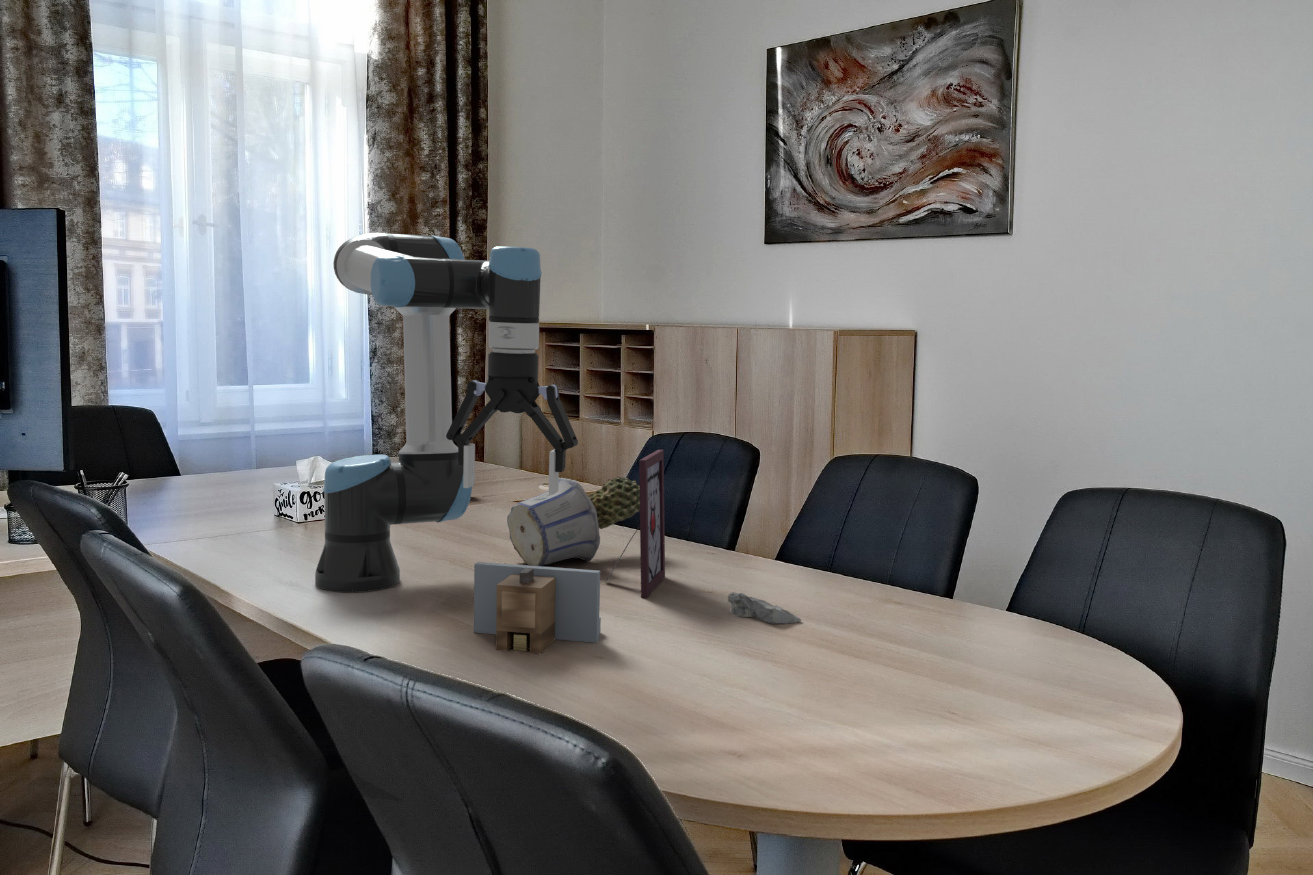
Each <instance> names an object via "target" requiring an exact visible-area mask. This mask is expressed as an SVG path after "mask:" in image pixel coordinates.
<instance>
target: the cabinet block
mask: <svg viewBox="0 0 1313 875" xmlns="http://www.w3.org/2000/svg"><path fill="white" fill-rule="evenodd" d="M533 572H534V569H531V568H525V569H524V570H523V571H521V572H520V575H517V574H512V575H510V576H509V577H507V578H506V579H504V580H503V581H501V582H500V583H498V584H497V594H496V634H495V651H504V652H508V651H509V650H510V649H511V648H512V647H514V634H515V633H516V632H520V633H530V648H529V653H530V654H538V655H541V654H543V652H545V650H547V649H548V647H550V646H551V644H553V643H554V642H555V640H556V639H555V578H556V577H545V576H533Z"/></svg>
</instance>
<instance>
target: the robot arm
mask: <svg viewBox="0 0 1313 875" xmlns="http://www.w3.org/2000/svg"><path fill="white" fill-rule="evenodd" d="M332 266H333V271H334V274H335V277H336V279H337V281H338V282H339V283H340V284H341V285H342V286H343V287H344V288H346V289H348V290H350V291H352V292H354V293H356V294H357V293H358V294H361V295H362V294H363V295H368V296H369V295H370V296H373V300H374V301H375V303H376V304H377V305H380V306H385V307H393V308H394V309H395V310H396V311H397V312H398V313H399V314H401V315H402V322H403V323H402V325H403V328H402V329H403V361H404V362H403V364H404V365H403V366H404V368H403V369H404V397H405V398H404V399H405V400H404V403H405V407H404V408H405V435H406V436H405V437H406V442H405V444H404V446H402V448H400V450H399V451H398V461H396V462H394V461H393V462H392V460H391V458H390V457H389V455H386V454H372V455H370V454H365V455H364V454H363V455H357V456H353V457H347V458H343V459H342V458H341V459H339V460H336V461H334V462H331V463H330V464H329V465H328V466H326V468H325V471H324V480H323V488H322V491H323V494H324V498H323V499H324V505H323V506H324V544H323V548H322V551H321V554H320V556H319V560H318V562H317V563H318V564H317V566H316V569H315V571H314V572H315V574H314V577H315V578H314V581H315V582H314V585H315V586H316V587H317V588H319V589H322V590H326V591H330V592H338V593H339V592H340V593H356V592H357V593H358V592H359V593H362V592H371V591H372V592H373V591H379V590H383V589H384V590H385V589H387V588H391V587H393V586H396V585H397V584H399V583H400V581H401V570H400V567H399V563H398V560H397V557H396V554H395V551H394V549H393V547H392V546H393V545H392V543H391V526H392V525H406V524H407V525H408V524H420V523H423V524H424V523H433V522H434V523H443V522H447V521H454V520H458V519H460V518H462V517H463V515H464V514H465V513H466V511H467V509H468V507H469V505H470V501H471V498H472V491H473V487H474V486H475V474H476V473H475V471H476V470H475V468H476V467H475V464H476V462H475V460H476V454H475V453H476V444H475V443H471V442H472V440H473V438H475V436H476V435H477V433H479V431H480V430H482V428H484V426H485V425H486V423H487V422H488V421H489V420H490V419H491V417H493V415H494V414H495V413H497V411H499V412H500V413H509V412H510V413H514V414H523V413H526V415H527V416H528V417H530V418H531V420H532V421H533V422H534V424H535V425H536V426H537V428H538V429H539V431H540V432H541V433H542V434H543V436H544V438H546V439H547V441H548V442H549V444H550V445H551V447H552V448H553V449H552V450H550V451H549V456H548V457H549V458H548V460H549V462H548V465H549V466H548V491H549V494H551V495H554V494H555V493H557V492H558V489H559V478H560V473H562V472H564V471H565V468H566V457H567V456H566V455H567V454H566V453H567V450H568V449H572V448H574V447H576V446H578V444H579V440H578V437H577V436H576V433H575V431H574V428H573V427H572V426H573V425H572V424H571V422H570V420H569V418H568V415H567V413H566V411H565V409H564V406H563V404H562V402H561V399H560V392H559V391H560V389H559V386H558V385H557V384H555V383H554V384H551V385H547V386H545V385H544V386H543V385H542V386H540V384H539V354H538V353H537V352H536V350H538V349H539V348H540V307H541V306H540V304H541V302H540V301H541V278H542V269H541V267H542V266H541V254H540V251H538V250H537V249H536V248H533V247H524V246H523V247H522V246H521V247H520V246H495V247H492V248H491V250H490V255H489V260H485V259H484V260H483V259H482V260H478V259H477V260H475V259H465V256H464V253H463V251H462V249H461V248H460V246H459V244H458V243H457V242H456V241H455V240H454V239H452V238H449V237H443V236H438V235H437V236H436V235H433V234H432V235H428V234H427V235H425V234H403V233H402V234H401V233H385V232H372V233H371V232H370V233H364V234H360V235H357V236H354V237H351V238H349V239H347V240H346V241H345V242H343V243H342V244H341V245H340V246H339V247H338V249H337V251H336V253H335V254H334V258H333V264H332ZM457 309H468V310H470V309H473V310H488V347H489V349H492V351H490V352H489V353H488V354H487V355H488V356H487V357H488V358H487V360H488V361H487V377H488V378H487V380H486V382H482V381H481V382H480V381H479V380H478V379H475V380H470V381H468V382H467V385H466V392H465V396H464V398H463V400H462V402H461V404H460V407H459V409H458V411H457V413H456V414H455V415H454V416H455V417H454V418H452V417H453V414H452V413H453V412H452V410H453V409H452V376H451V340H450V335H451V334H450V316H451V314H453V312H454V311H456V310H457ZM484 392H485V394H486V395H487V396H488V398H489V399H490V400H489V401H487V404H485V406H483V409H482V410H481V411H480V412H479V414H477V416H476V417H475V418H474V419H473V420H472V421H471V423H469V425H468V426H467V427H466V428H465V429H464V427H465V426H466V423H467V421H468V419H469V418H470V416H471V413H472V411H473V409H474V407H475V405H476V404H477V401H478V399H479V396H481V395H483V394H484ZM540 395H542V397H543V399H544V400H545V401H547V405H548V407H549V409H550V411H551V415H552V416H553V418H554V421H555V423H556V425H557V428H558V430H559V432H560V434H559V432H558V431H557V429H556V428H555V427H554V426H553V424H552V423H551V421H550V420H549V419H548V417H547V416H546V415H545V414H544V412H543V410H542V408H541V406H540V405H539V404H538V403H537V402H536V400H537V399H538V398H539V396H540ZM463 429H464V431H463ZM462 431H463V432H462ZM454 442H455V443H456V444H457V445H456V444H455V443H454Z"/></svg>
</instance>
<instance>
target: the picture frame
mask: <svg viewBox="0 0 1313 875" xmlns="http://www.w3.org/2000/svg"><path fill="white" fill-rule="evenodd" d="M664 454H665V452H664V449H657V450H654V451H653V452H652V453H650V454H648V455H646V456H645V457H642V458H641V459H639V460H638V470H639V474H638V475H639V479H638V480H639V486H640V510H639V526H638V528H637V529H636V531H635V532H634V533H633V535H632V536H631V537H630V539H629V541H628V543H627V544H626V546H625V548H624V550H623V551H622V552H621V554H620V556H619V558H618V560H616V561H617V562H616V563H615V565H614V567H613V568H612V570H611V572H609V573H610V574H609V575H608V577H607V578H606V580H605V582H607V581H608V580H609V578H610V577H611V575H612V573H613V571H614V569H616V566H617V565H618V563H619V561H620V560H621V558H622V556H623V555H624V553H625V551H626V550H627V548H628V546H629V544H630V543H631V541H632V540H633V538H634V536H635V534H636V533H637V531H638V530H639V531H640V532H639V533H640V534H639V535H640V536H639V541H640V542H639V543H640V546H639V547H640V555H639V556H640V598H643V599H648V597H650V595H651V594H652V593H653V592H654V591H655V589H656V588H657V587H658V586H659V584H660V583H661V582H662V581H663V580H664V579H665V578H666V555H665V554H666V549H665V546H666V544H665V543H666V540H665V539H666V538H665V533H666V532H665V531H666V530H665V460H664V459H665V457H664Z"/></svg>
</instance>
